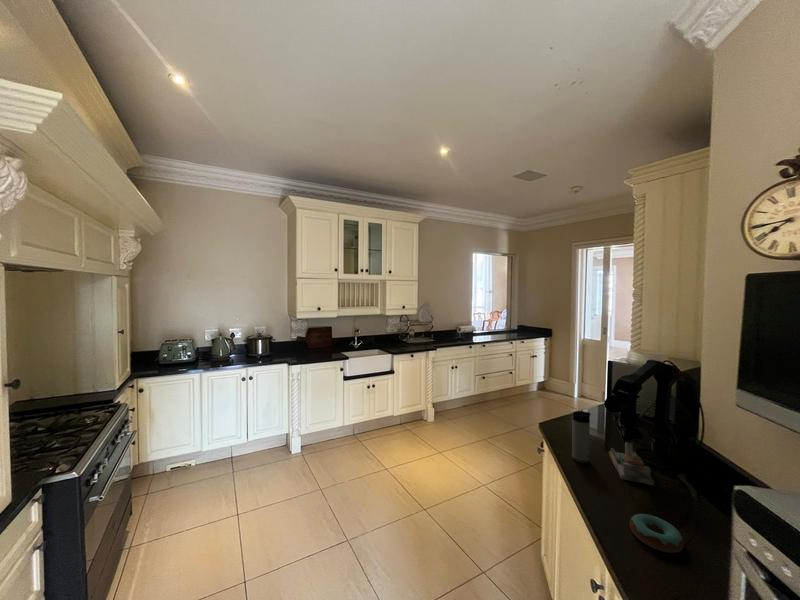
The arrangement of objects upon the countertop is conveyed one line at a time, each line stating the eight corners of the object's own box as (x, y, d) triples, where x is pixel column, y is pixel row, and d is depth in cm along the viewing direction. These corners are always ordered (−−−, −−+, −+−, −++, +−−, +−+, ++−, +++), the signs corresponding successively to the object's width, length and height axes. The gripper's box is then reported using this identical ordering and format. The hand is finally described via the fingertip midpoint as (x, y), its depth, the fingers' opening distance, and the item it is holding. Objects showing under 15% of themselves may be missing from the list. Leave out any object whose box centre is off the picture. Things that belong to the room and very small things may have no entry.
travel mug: (592, 464, 127) (593, 415, 126) (574, 462, 128) (575, 414, 128) (586, 456, 133) (587, 410, 133) (569, 454, 134) (570, 409, 134)
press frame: (636, 459, 131) (636, 446, 131) (654, 485, 113) (654, 470, 113) (608, 454, 135) (609, 441, 135) (621, 478, 117) (621, 464, 116)
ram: (636, 463, 125) (636, 443, 125) (640, 469, 120) (641, 449, 120) (618, 459, 127) (619, 440, 127) (622, 466, 123) (622, 446, 122)
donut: (636, 547, 84) (636, 533, 84) (624, 519, 95) (624, 506, 95) (692, 563, 80) (693, 548, 80) (673, 531, 91) (674, 518, 91)
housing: (639, 469, 120) (639, 456, 120) (643, 476, 116) (643, 462, 116) (623, 466, 122) (624, 453, 122) (627, 473, 118) (627, 459, 118)
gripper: (660, 421, 115) (659, 462, 116) (644, 404, 132) (643, 440, 133) (624, 416, 120) (623, 455, 120) (613, 400, 137) (612, 435, 137)
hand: (626, 446), depth 127 cm, fingers closed
